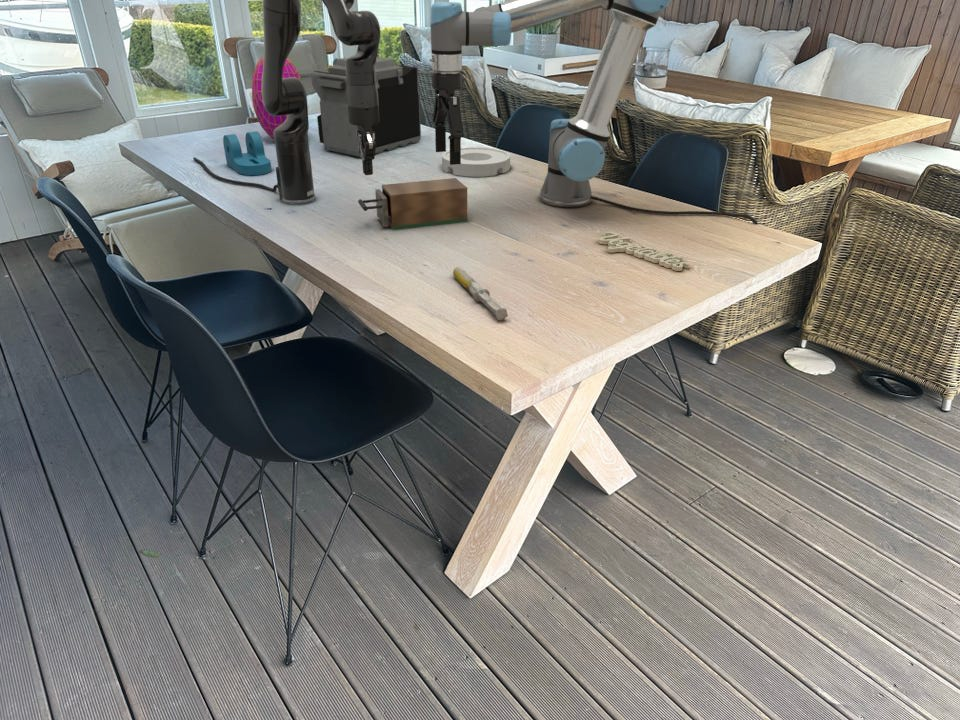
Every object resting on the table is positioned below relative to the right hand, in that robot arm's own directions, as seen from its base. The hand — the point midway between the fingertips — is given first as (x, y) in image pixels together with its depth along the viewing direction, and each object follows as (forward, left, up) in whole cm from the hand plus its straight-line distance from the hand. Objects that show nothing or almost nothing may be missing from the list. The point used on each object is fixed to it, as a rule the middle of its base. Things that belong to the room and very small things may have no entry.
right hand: (447, 157), depth 182 cm
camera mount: (+81, -13, -16) cm, 83 cm away
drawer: (+8, +9, -15) cm, 19 cm away
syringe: (-30, +44, -16) cm, 55 cm away
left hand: (+14, +16, -2) cm, 22 cm away
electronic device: (+63, -58, -16) cm, 87 cm away
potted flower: (+100, -92, -16) cm, 136 cm away
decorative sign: (-54, +4, -16) cm, 57 cm away
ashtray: (+15, -49, -16) cm, 53 cm away
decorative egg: (+97, -50, -16) cm, 111 cm away
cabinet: (+4, +6, -16) cm, 17 cm away
